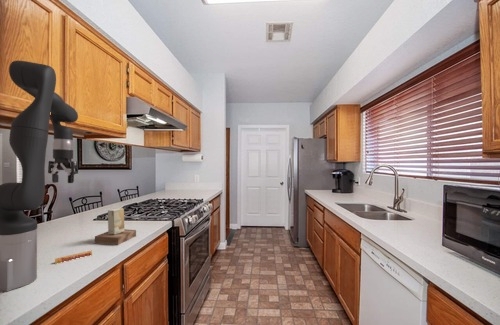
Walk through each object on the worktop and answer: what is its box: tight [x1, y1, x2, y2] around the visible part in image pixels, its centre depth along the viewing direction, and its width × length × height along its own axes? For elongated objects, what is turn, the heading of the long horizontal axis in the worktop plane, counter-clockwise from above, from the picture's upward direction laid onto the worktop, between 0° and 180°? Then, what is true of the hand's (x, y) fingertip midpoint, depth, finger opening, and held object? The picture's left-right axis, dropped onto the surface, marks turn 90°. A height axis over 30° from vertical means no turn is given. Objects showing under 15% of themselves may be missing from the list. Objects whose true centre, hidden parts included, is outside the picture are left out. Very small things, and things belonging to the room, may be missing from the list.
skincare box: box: [107, 207, 125, 235], centre depth 114 cm, size 6×4×12 cm
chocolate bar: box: [54, 250, 93, 265], centre depth 91 cm, size 3×12×2 cm, turn 135°
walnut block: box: [94, 228, 137, 246], centre depth 114 cm, size 13×13×4 cm
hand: (62, 182), depth 105 cm, fingers open, 8 cm apart
